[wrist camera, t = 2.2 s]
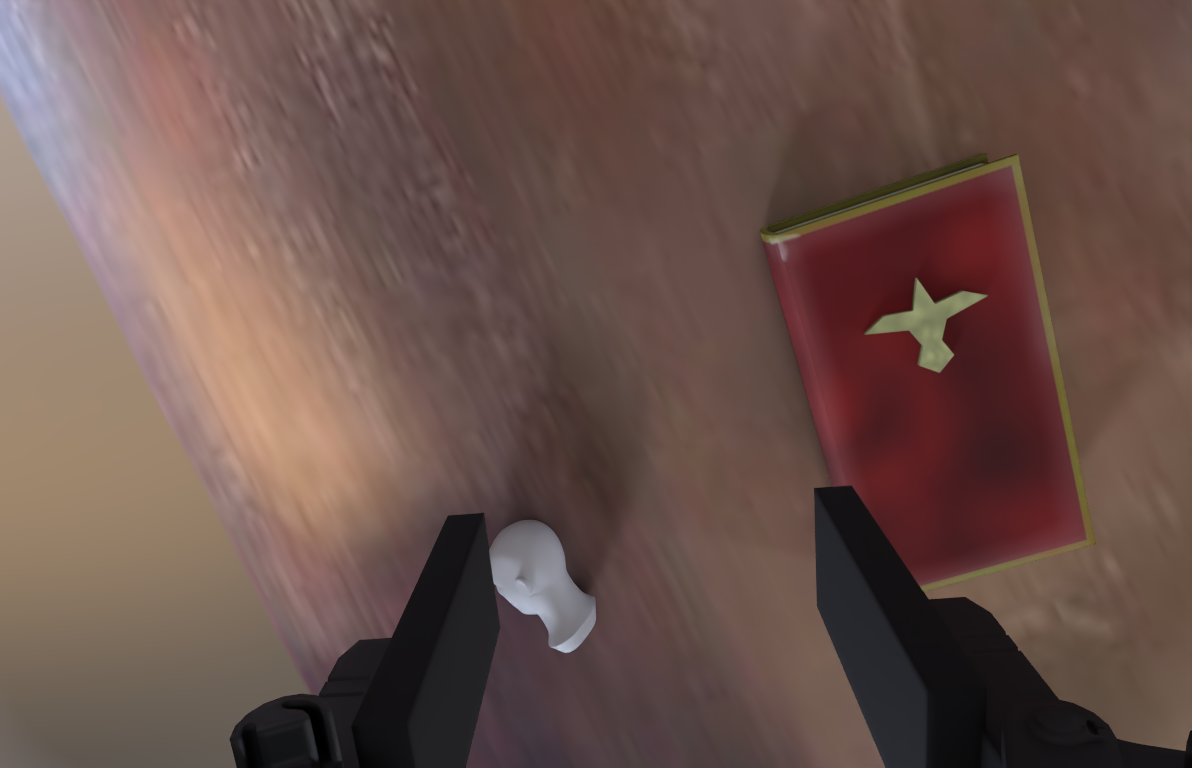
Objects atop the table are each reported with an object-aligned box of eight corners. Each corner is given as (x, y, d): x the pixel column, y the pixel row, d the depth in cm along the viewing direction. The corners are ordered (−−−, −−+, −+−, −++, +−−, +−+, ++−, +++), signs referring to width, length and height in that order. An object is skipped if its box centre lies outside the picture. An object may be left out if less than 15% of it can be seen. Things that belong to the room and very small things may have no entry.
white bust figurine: (486, 519, 50) (555, 497, 48) (546, 626, 52) (616, 609, 50) (453, 559, 47) (527, 537, 44) (520, 673, 48) (594, 657, 46)
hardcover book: (852, 570, 49) (874, 608, 45) (755, 229, 44) (769, 238, 40) (1058, 512, 48) (1098, 546, 44) (982, 153, 43) (1021, 154, 39)
